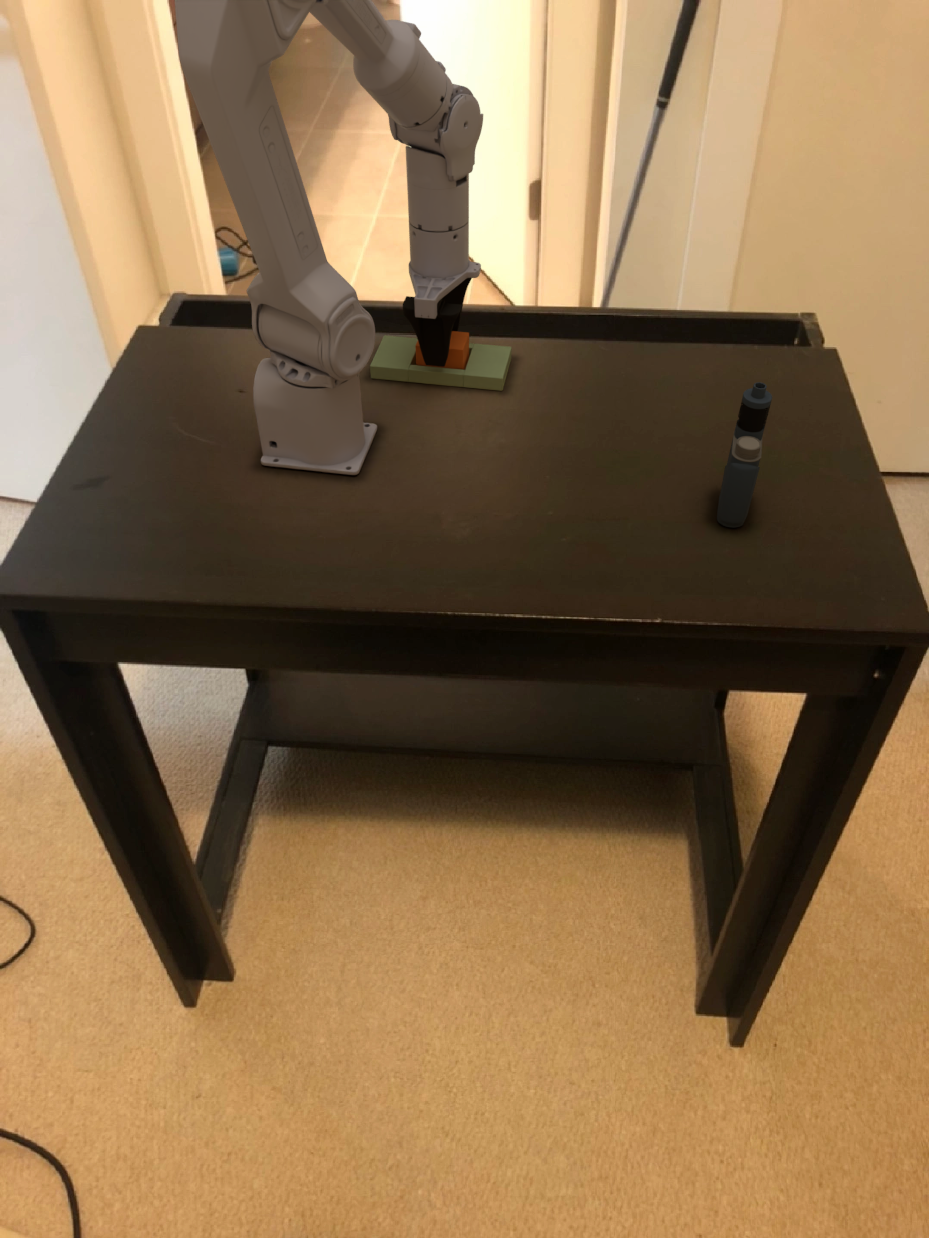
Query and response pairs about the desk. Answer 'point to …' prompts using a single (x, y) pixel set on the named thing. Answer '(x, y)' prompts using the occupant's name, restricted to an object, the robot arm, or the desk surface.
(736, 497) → the vaping device
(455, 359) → the orange rectangular block
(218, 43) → the robot arm
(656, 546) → the desk surface
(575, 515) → the desk surface
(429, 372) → the base pad
